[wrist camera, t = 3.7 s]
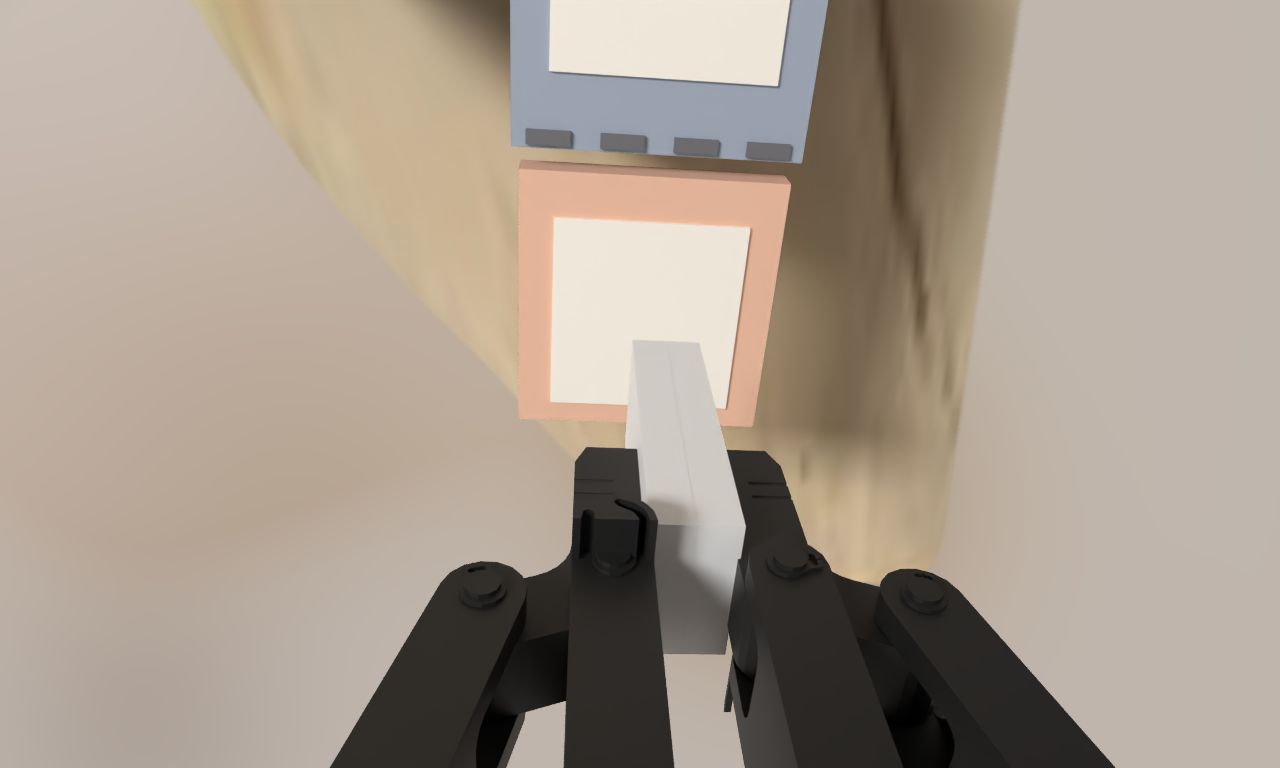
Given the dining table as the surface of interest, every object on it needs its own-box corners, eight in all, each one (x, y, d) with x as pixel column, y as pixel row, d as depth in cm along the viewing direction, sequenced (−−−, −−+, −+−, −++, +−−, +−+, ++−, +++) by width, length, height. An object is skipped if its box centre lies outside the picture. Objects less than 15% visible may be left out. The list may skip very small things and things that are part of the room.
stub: (521, 159, 24) (517, 169, 23) (783, 175, 24) (792, 185, 23) (521, 402, 27) (518, 420, 26) (748, 410, 28) (753, 428, 27)
